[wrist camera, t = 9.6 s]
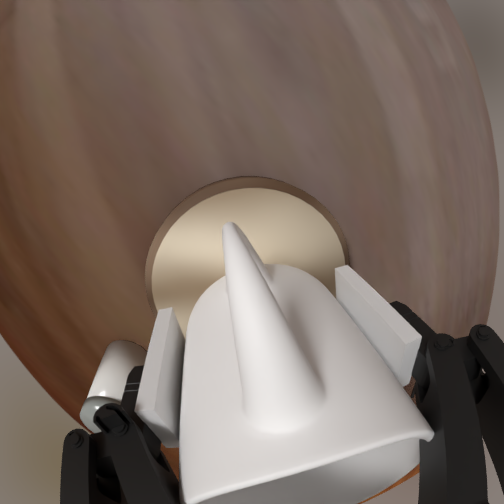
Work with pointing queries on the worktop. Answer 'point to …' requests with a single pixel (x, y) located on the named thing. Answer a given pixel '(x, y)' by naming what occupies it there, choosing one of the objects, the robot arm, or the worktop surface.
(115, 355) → the spice jar
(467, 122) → the worktop surface
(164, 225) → the beige flat disc
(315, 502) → the mug
